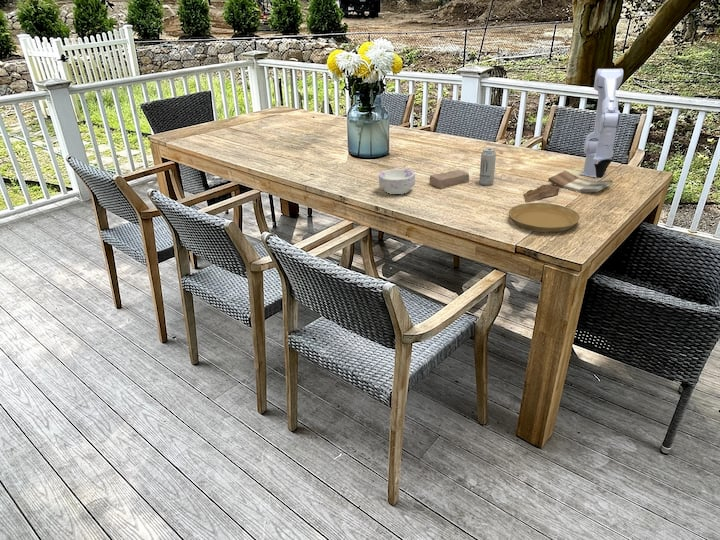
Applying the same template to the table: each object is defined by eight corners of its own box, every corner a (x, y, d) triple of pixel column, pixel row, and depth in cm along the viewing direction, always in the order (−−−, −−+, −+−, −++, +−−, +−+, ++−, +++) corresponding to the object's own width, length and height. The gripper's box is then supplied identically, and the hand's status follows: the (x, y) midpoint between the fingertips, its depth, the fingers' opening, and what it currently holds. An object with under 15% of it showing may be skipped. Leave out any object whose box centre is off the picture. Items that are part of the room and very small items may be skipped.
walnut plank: (562, 188, 214) (563, 186, 213) (547, 180, 218) (548, 178, 217) (578, 180, 223) (579, 177, 222) (564, 172, 226) (565, 170, 225)
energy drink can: (476, 184, 223) (478, 150, 216) (484, 180, 227) (486, 147, 220) (488, 187, 219) (491, 152, 212) (496, 183, 223) (499, 149, 216)
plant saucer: (509, 208, 198) (510, 200, 197) (576, 212, 192) (577, 204, 190) (506, 233, 178) (507, 224, 176) (581, 239, 171) (582, 229, 170)
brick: (457, 177, 233) (458, 167, 231) (470, 182, 227) (470, 172, 225) (428, 185, 226) (428, 175, 224) (440, 190, 220) (441, 179, 217)
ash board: (579, 180, 222) (579, 177, 222) (595, 183, 218) (595, 180, 217) (563, 188, 214) (563, 185, 213) (579, 192, 209) (579, 189, 209)
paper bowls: (373, 189, 223) (373, 171, 219) (405, 183, 228) (405, 166, 224) (388, 200, 211) (387, 181, 207) (421, 194, 215) (421, 175, 212)
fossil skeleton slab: (547, 183, 221) (548, 181, 220) (571, 189, 213) (571, 187, 213) (511, 199, 207) (511, 196, 206) (535, 206, 199) (535, 203, 199)
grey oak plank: (595, 184, 217) (595, 181, 217) (612, 182, 212) (612, 179, 212) (580, 192, 209) (579, 189, 209) (597, 191, 204) (597, 188, 203)
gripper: (603, 138, 209) (597, 171, 215) (587, 146, 200) (581, 179, 207) (621, 141, 204) (614, 174, 211) (605, 149, 196) (599, 183, 202)
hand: (599, 177), depth 208 cm, fingers closed
